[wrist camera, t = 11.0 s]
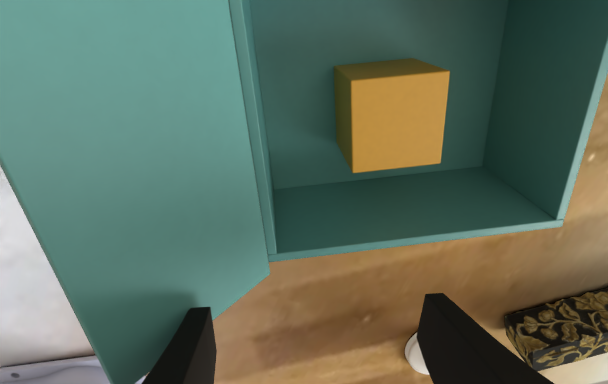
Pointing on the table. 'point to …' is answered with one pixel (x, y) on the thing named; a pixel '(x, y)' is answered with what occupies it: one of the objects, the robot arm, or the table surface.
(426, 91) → the cube
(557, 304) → the decorative block
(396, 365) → the table surface
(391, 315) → the table surface
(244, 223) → the flap
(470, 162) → the teal box
